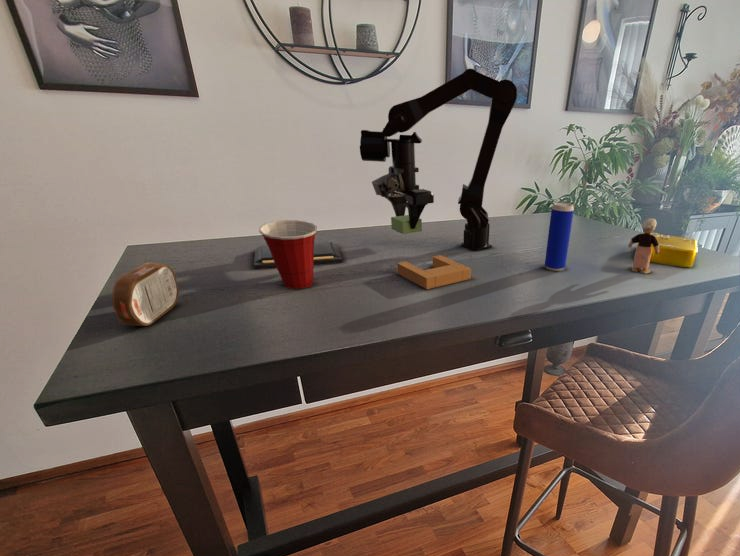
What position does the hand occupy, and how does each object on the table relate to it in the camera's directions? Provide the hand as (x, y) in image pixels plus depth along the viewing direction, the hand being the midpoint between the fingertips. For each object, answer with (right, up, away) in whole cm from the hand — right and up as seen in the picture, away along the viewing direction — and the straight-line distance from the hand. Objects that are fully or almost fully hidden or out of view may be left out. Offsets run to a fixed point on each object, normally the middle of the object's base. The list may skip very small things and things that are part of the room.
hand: (406, 226), depth 120 cm
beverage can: (+39, -14, -10) cm, 42 cm away
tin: (-37, -31, -42) cm, 64 cm away
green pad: (0, -1, +1) cm, 1 cm away
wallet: (-25, -12, -11) cm, 30 cm away
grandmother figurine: (+60, -15, -9) cm, 62 cm away
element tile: (+71, -8, +3) cm, 72 cm away
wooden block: (+9, -18, -19) cm, 28 cm away
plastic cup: (-18, -22, -27) cm, 39 cm away
